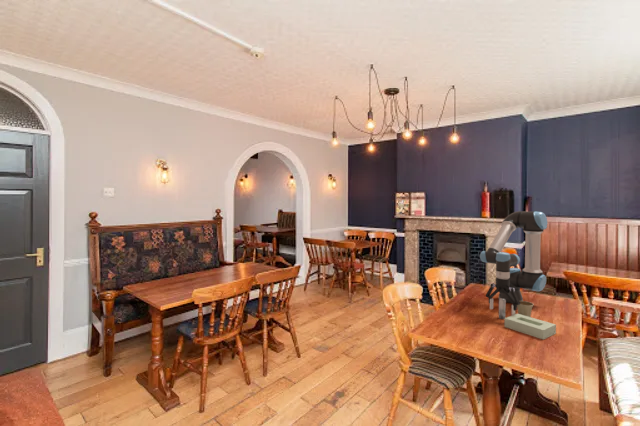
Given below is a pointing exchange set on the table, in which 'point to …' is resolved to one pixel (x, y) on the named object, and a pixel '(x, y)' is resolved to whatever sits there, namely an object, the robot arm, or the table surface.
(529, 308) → the flower pot
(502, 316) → the pin
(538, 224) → the robot arm
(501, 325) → the table surface
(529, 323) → the slot block
